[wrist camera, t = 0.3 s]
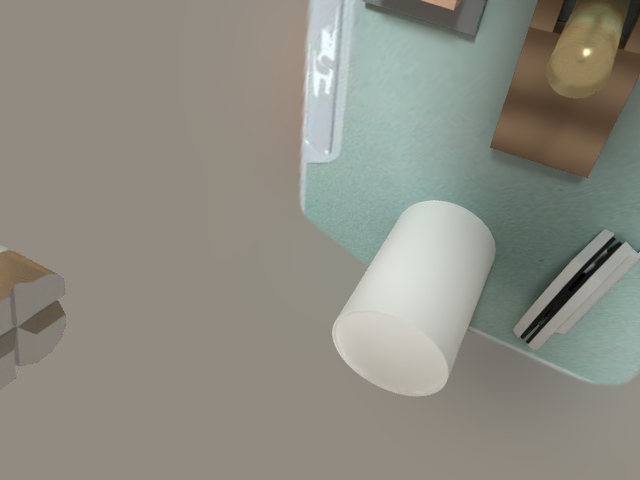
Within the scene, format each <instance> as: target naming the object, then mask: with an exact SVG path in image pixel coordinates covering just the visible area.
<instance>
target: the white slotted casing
mask: <svg viewBox="0 0 640 480" xmlns="http://www.w3.org/2000/svg"><path fill="white" fill-rule="evenodd" d="M614 235H615V233H613V232H611V231H609V230H605V229H604V230H603V231H602V232H601V233H600V234H599V235H598V236H597V237H596V238H594V239H593V240H592V241H591V242H590V243H589V244H588V245H587V246H586V247H585V248H584V249H583V250H582V251H581V252H580V253H579V254H578V255H577V256H576V257H575V258H574V259H573V260H572V261H571V262H570V263H569V264H568V265H567V266H566V268H565V269H564V270H563V271H562V272H561V273H560V274H559V275H558V276H557V278H556V279H555V280H554V281H553V282H552V283H551V284H550V286H549V287H548V288H547V289H546V290H545V291H544V292H543V293H542V295H541V296H540V297H539V298H538V299H537V301H536V302H535V303H534V304H533V305H532V306H531V308H530V309H529V310H528V311H527V312H526V314H525V315H524V316H523V317H522V318H521V320H520V321H519V322H518V323H517V325H516V326H515V327H514V329H513V332H514V333H515V334H516V336H517V337H518V338H520V337H521V338H522V339H524V338H525V337H526V336H527V335H528V334H529V333H530V332H531V331H532V330H533V329H534V328H535V327H536V326H537V325H538V324H539V325H540V326H539V327H538V329H537V330H536V331H535V332H534V333H533V334H532V335H531V336H530V338H529V339H528V340H527V341H526V342H527V343H528V345H527V346H528V347H530V348H531V349H533V350H535V351H537V350H538V349H539V348H540V347H541V346H542V345H543V344H544V343H545V342H546V341H547V340H548V338H549V337H550V336H551V335H552V334H553V333H559V334H566V333H567V332H568V331H569V330H570V329H571V328H572V327H573V326H574V325H575V324H576V323H577V322H578V321H579V320H580V319H581V318H582V317H583V316H584V315H585V314H586V313H587V312H588V311H589V310H590V309H591V308H592V307H593V306H594V305H595V304H596V303H597V302H598V301H599V300H600V299H601V298H602V297H603V296H604V295H605V294H606V293H607V292H608V291H609V290H610V289H611V288H612V287H613V286H614V285H615V283H616V282H617V281H618V280H619V279H620V278H621V277H622V276H623V275H624V274H625V273H626V272H627V271H628V270H629V269H630V268H631V267H632V266H633V265H634V264H635V263H636V262H637V261H638V260H639V259H640V252H639V253H637V252H636V251H635V250H634V249H633V248H632V247H631V246H630V245H629V244H628V243H627V242H626V241H625V242H624V243H623V244H622V243H621V242H619V243H618V244H617V245H616V246H615V247H614V248H613V249H612V250H611V251H610V252H609V253H608V252H607V250H606V249H607V248H608V247H609V246H610V245H611V244H612V243H613V242H614V241H615V238H614V237H613V236H614ZM582 273H584V274H585V275H586V276H585V277H584V278H583V279H582V280H581V282H580V283H579V284H578V285H577V286H576V287H575V288H574V289H573V290H572V291H571V292H570V291H569V290H568V288H569V287H570V286H571V285H572V284H573V283H574V282H575V281H576V279H577V278H578V277H579V276H580V275H581V274H582ZM549 309H551V310H553V312H552V313H551V314H550V315H549V316H548V314H549V312H550V311H549Z"/></svg>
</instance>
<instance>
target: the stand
mask: <svg viewBox="0 0 640 480" xmlns="http://www.w3.org/2000/svg"><path fill="white" fill-rule="evenodd" d="M363 1H364V2H367V3H370V4H373V5H376V6H380V7H383V8H386V9H389V10H392V11H396V12H399V13H402V14H405V15H408V16H412V17H415V18H418V19H421V20H424V21H427V22H431V23H434V24H437V25H440V26H443V27H447V28H450V29H453V30H456V31H459V32H463V33H466V34H469V35H472V36H474V35H475V34H476V32H477V29H478V26H479V23H480V20H481V17H482V14H483V11H484V7H485V4H486V1H487V0H363Z"/></svg>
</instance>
